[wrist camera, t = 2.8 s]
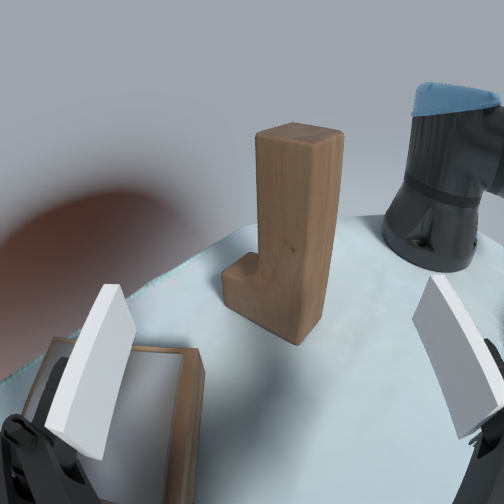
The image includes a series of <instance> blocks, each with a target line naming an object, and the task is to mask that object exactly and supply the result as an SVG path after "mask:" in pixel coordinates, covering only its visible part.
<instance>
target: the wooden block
mask: <svg viewBox="0 0 504 504" xmlns="http://www.w3.org/2000/svg"><path fill="white" fill-rule="evenodd" d="M255 147H256V148H255V149H256V150H255V151H256V181H257V182H256V184H257V219H258V254H257V253H253V252H249V253H247V254H246V255H244V256H243V257H242V258H240V259H239V260H238V261H236V262H235V263H234V264H232V265H231V266H230V267H228V268H227V269H226V270H224V271H223V272H222V274H221V278H222V286H223V293H224V301H225V305H226V306H227V307H229V308H230V309H232V310H234V311H235V312H237V313H239V314H241V315H242V316H244V317H246V318H248V319H249V320H251V321H253V322H255V323H256V324H258V325H260V326H262V327H263V328H265V329H267V330H269V331H271V332H272V333H274V334H276V335H278V336H280V337H282V338H283V339H285V340H287V341H289V342H291V343H293V344H294V345H299V344H300V343H301V342H302V341H303V340H304V339H305V337H306V336H307V335H308V334H309V333H310V331H311V330H312V329H313V328H314V326H315V325H316V324H317V323H318V321H319V320H320V319H321V316H322V310H323V305H324V299H325V294H326V288H327V282H328V276H329V269H330V262H331V256H332V249H333V242H334V235H335V227H336V219H337V211H338V201H339V193H340V183H341V173H342V161H343V148H344V133H342V132H341V131H339V130H334V129H329V128H324V127H318V126H312V125H306V124H299V123H293V122H292V123H288V124H284V125H281V126H278V127H274V128H270V129H267V130H264V131H260V132H258V133H257V134H256V136H255Z"/></svg>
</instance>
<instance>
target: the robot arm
mask: <svg viewBox="0 0 504 504" xmlns="http://www.w3.org/2000/svg"><path fill="white" fill-rule="evenodd" d="M501 103H502V101H501V99H500V96H499V94H497V93H493V92H489V91H484V90H480V89H475V88H469V87H463V86H457V85H450V84H442V83H433V82H425V83H422V84H421V85H419V87H418V88H417V90H416V95H415V102H414V108H413V112H412V113H411V115H412V116H413V119H412V129H411V137H410V144H409V152H408V157H407V164H406V170H405V176H404V181H403V184H402V186H401V188H400V189H399V191H398V193H397V194H396V196H395V198H394V200H393V202H392V203H391V205H390V207H389V209H388V210H387V212H386V214H385V217H384V222H383V226H382V234H383V237H384V239H385V241H386V242H387V244H388V245H389V246H390V247H391V248H392V249H393V250H394V251H395V252H396V253H397V254H399V255H400V256H401V257H403V258H405V259H406V260H408V261H410V262H412V263H414V264H416V265H418V266H421V267H423V268H426V269H430V270H434V271H439V272H456V271H460V270H463V269H465V268H466V267H468V266H469V264H470V263H471V261H472V258H473V256H474V253H475V251H476V246H477V239H476V235H477V225H478V207H479V203H480V200H481V196H482V193H483V191H487V192H490V193H493V194H495V195H497V196H500V197H502V198H504V107H502V106H500V105H501ZM412 320H413V322H414V325H415V327H416V329H417V331H418V333H419V336H420V338H421V340H422V342H423V345H424V347H425V349H426V352H427V354H428V356H429V359H430V361H431V364H432V366H433V369H434V371H435V374H436V376H437V379H438V381H439V384H440V387H441V389H442V392H443V395H444V397H445V400H446V403H447V406H448V409H449V412H450V415H451V418H452V421H453V424H454V427H455V430H456V433H457V436H458V439H461V438H463V437H466V436H468V435H470V434H473V433H474V432H475V431H476V430H478V429H479V428H480V427H481V430H482V431H481V432H480V433H479V434H478V435H476V436H475V437H474V438H473V439H471V440H470V442H469V445H471V444H473V443H474V442H475V441H477V442H476V443H475V444H474V445H473V446H474V447H475V448H474V451H473V454H472V457H471V460H470V463H469V465H468V468H467V471H466V473H465V476H464V478H463V481H462V483H461V486H460V488H459V490H458V492H457V495H456V497H455V499H454V501H453V503H452V504H504V362H503V360H502V359H501V356H500V354H499V352H498V350H497V348H496V347H495V346H494V344H493V343H492V342H491V341H490V340H489V339H488V338H487V339H483V338H482V336H481V334H480V333H479V331H478V329H477V327H476V326H475V324H474V322H473V320H472V319H471V317H470V315H469V314H468V312H467V310H466V309H465V307H464V305H463V304H462V302H461V300H460V299H459V297H458V296H457V294H456V292H455V291H454V289H453V288H452V286H451V285H450V283H449V282H448V280H447V279H446V277H445V276H444V274H439V275H430V277H429V280H428V283H427V285H426V287H425V290H424V292H423V295H422V297H421V299H420V302H419V304H418V306H417V309H416V311H415V313H414V315H413V318H412ZM136 331H137V327H136V324H135V322H134V320H133V317H132V315H131V312H130V310H129V308H128V305H127V303H126V300H125V298H124V295H123V292H122V290H121V287H120V285H119V284H104V285H103V287H102V289H101V291H100V293H99V295H98V297H97V299H96V301H95V303H94V305H93V307H92V309H91V311H90V313H89V315H88V317H87V320H86V322H85V324H84V326H83V328H82V330H81V333H80V335H79V337H78V339H77V342H76V344H75V346H74V349H73V351H72V353H71V356H70V358H68V357H61V358H60V359H59V360H58V361H57V362H56V364H55V365H54V366H53V368H52V370H51V373H50V375H49V380H47V383H46V385H45V389H44V390H43V393H42V395H41V398H40V401H39V404H38V406H37V409H36V412H35V415H34V418H33V420H32V422H31V423H30V422H29V421H28V420H27V419H25V418H24V417H23V416H22V415H19V414H13V415H10V416H9V417H8V418H6V420H5V421H4V423H3V425H2V429H1V431H0V504H102V503H101V501H100V499H99V498H98V496H97V494H96V492H95V490H94V489H93V487H92V485H91V483H90V481H89V479H88V477H87V475H86V473H85V471H84V469H83V467H82V465H81V463H80V461H79V460H78V458H77V457H76V455H77V451H78V452H80V453H81V454H83V455H84V456H87V457H90V458H94V459H98V460H101V461H102V458H103V454H104V449H105V445H106V440H107V436H108V431H109V427H110V423H111V419H112V415H113V411H114V407H115V403H116V399H117V396H118V392H119V388H120V385H121V381H122V377H123V374H124V371H125V367H126V364H127V360H128V357H129V354H130V350H131V347H132V344H133V341H134V338H135V334H136ZM12 471H13V476H12Z"/></svg>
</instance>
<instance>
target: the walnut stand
mask: <svg viewBox="0 0 504 504" xmlns="http://www.w3.org/2000/svg"><path fill="white" fill-rule="evenodd" d="M76 342H77V340H74V339H67V338H59V337H54V338H53V340H52V342H51V344H50V347H49V349H48V351H47V353H46V355H45V357H44V359H43V362H42V364H41V366H40V369H39V371H38V373H37V376H36V378H35V380H34V383H33V385H32V388H31V390H30V393H29V395H28V398H27V400H26V403H25V406H24V408H23V411H22V414H21V415H22V416H23V417H24V418H25V419H27V420H28V421H29V422H30V423H31V422H32V420H33V418H34V415H35V412H36V409H37V406H38V404H39V401H40V398H41V395H42V393H43V390H44V389H45V385H46V383H47V380H49V375H50V373H51V370H52V368H53V366H54V365H55V364H56V362H57V361H58V360H59V359H60V358H61V357H68V358H70V356H71V353H72V351H73V349H74V346H75V344H76ZM204 380H205V370H204V367H203V363H202V360H201V356H200V353H199V349H198V348H168V347H150V346H135V345H132V347H131V350H130V354H129V357H128V360H127V364H126V367H125V371H124V374H123V377H122V381H121V385H120V388H119V392H118V396H117V399H116V403H115V407H114V411H113V415H112V419H111V423H110V427H109V431H108V436H107V440H106V445H105V449H104V454H103V458H102V461H101V460H98V459H94V458H90V457H87V456H84V455H83V454H81V453H80V452H78V451H77V455H76V457H77V458H78V460H79V461H80V463H81V465H82V467H83V469H84V471H85V473H86V475H87V477H88V479H89V481H90V483H91V485H92V487H93V489H94V490H95V492H96V494H97V496H98V498H99V499H100V501H101V503H102V504H194V490H195V477H196V464H197V452H198V441H199V430H200V419H201V409H202V399H203V389H204ZM12 474H13V471H12Z"/></svg>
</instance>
